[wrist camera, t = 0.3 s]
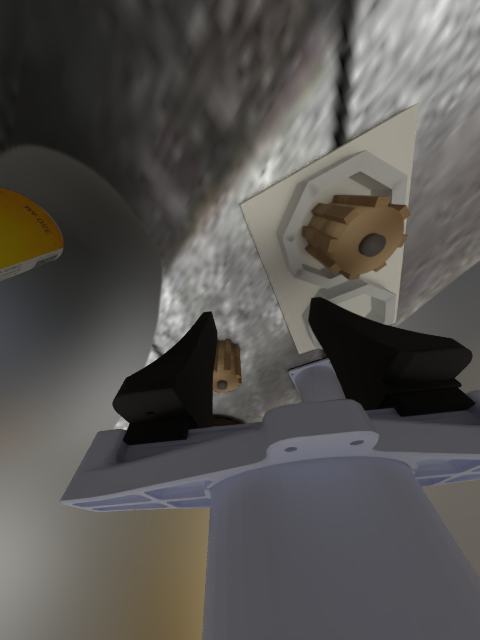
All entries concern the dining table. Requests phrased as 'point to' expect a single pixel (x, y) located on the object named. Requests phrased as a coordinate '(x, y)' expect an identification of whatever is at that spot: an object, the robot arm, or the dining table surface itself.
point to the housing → (295, 212)
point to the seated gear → (355, 233)
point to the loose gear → (226, 367)
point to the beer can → (25, 235)
